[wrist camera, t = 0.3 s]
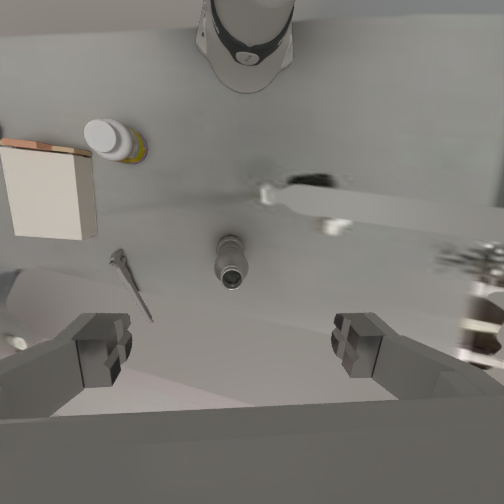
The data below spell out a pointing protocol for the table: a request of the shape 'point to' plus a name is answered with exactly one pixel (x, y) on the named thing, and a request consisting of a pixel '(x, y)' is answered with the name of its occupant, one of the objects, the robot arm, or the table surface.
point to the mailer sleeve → (50, 194)
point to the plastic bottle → (230, 262)
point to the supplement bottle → (115, 141)
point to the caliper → (129, 282)
